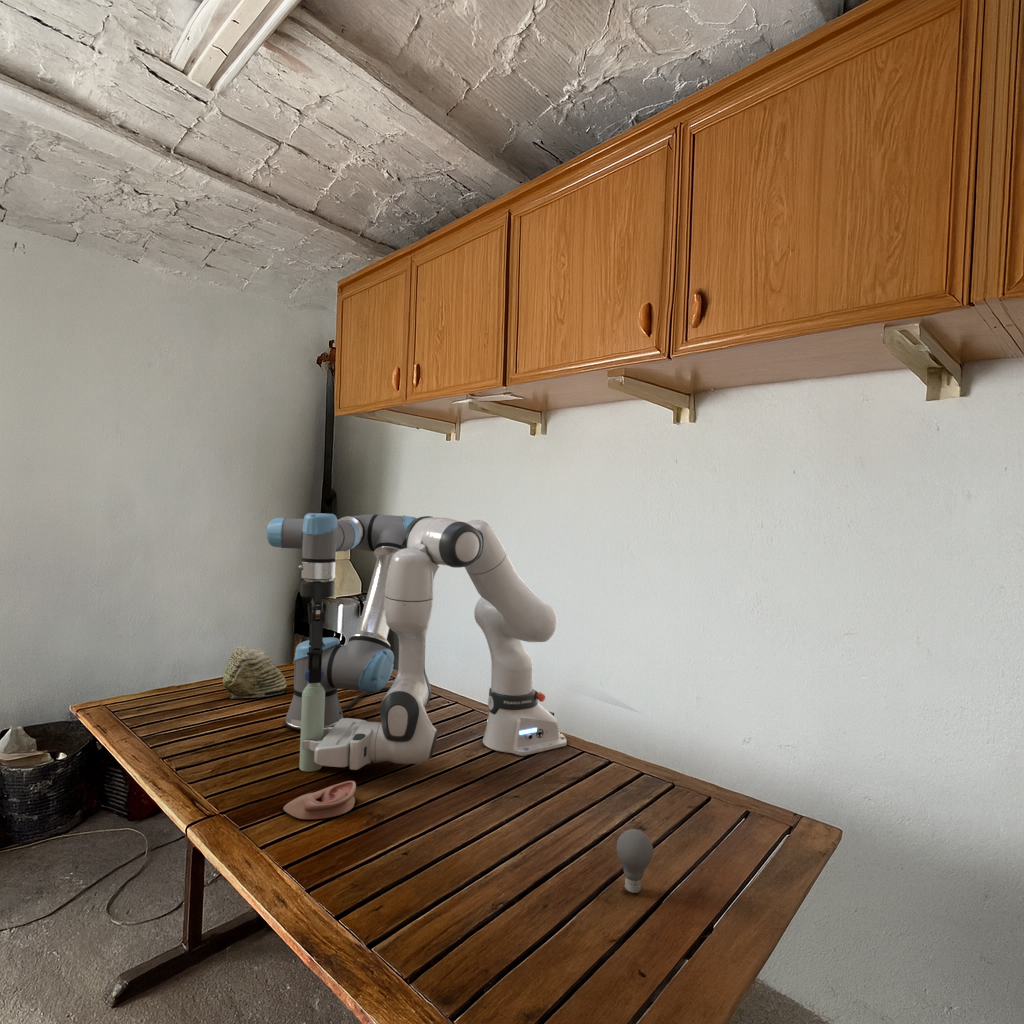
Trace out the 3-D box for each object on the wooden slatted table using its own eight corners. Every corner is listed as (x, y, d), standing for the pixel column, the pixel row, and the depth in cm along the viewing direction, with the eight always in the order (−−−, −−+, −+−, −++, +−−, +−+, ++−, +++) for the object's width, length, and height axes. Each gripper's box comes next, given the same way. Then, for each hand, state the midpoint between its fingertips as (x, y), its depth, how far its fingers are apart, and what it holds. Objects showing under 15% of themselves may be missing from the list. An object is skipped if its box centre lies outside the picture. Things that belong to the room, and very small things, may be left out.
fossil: (218, 695, 195) (220, 647, 195) (278, 685, 208) (279, 640, 207) (228, 703, 189) (230, 653, 188) (289, 692, 201) (290, 645, 201)
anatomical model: (275, 795, 125) (305, 771, 136) (274, 815, 125) (304, 789, 136) (337, 804, 122) (363, 779, 133) (336, 825, 122) (362, 798, 133)
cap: (322, 681, 146) (322, 672, 146) (303, 681, 145) (303, 672, 145) (324, 676, 150) (324, 668, 150) (306, 676, 149) (306, 668, 149)
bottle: (320, 761, 151) (323, 669, 151) (324, 769, 147) (327, 674, 146) (297, 764, 149) (301, 671, 149) (301, 773, 145) (304, 676, 144)
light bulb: (610, 879, 108) (613, 822, 108) (644, 879, 109) (647, 822, 109) (619, 902, 102) (622, 840, 102) (655, 901, 103) (658, 840, 103)
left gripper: (300, 574, 155) (297, 668, 156) (301, 585, 137) (297, 691, 137) (332, 574, 158) (329, 666, 158) (337, 585, 139) (333, 689, 140)
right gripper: (378, 713, 158) (323, 710, 158) (355, 744, 137) (292, 741, 138) (377, 738, 158) (322, 735, 158) (354, 773, 138) (291, 770, 138)
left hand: (314, 678), depth 148 cm, fingers open, 6 cm apart
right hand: (308, 738), depth 148 cm, fingers closed on bottle, 5 cm apart
